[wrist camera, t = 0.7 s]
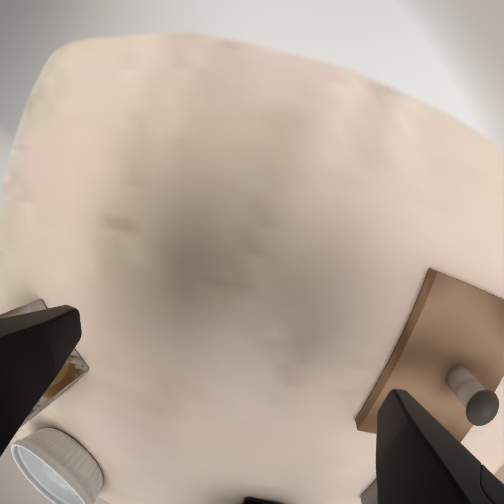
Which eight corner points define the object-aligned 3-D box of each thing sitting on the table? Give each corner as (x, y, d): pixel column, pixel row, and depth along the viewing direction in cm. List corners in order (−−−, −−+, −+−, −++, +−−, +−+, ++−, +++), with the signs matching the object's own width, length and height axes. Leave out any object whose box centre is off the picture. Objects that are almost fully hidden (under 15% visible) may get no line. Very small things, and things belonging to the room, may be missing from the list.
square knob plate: (454, 435, 21) (481, 485, 13) (355, 419, 22) (367, 484, 15) (523, 308, 19) (576, 337, 11) (429, 268, 20) (483, 294, 12)
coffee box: (23, 327, 27) (-81, 374, 11) (41, 297, 26) (-82, 343, 10) (68, 391, 27) (-26, 464, 11) (92, 369, 26) (-19, 454, 10)
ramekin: (109, 453, 28) (81, 487, 21) (113, 500, 30) (93, 528, 23) (32, 403, 29) (1, 426, 22) (45, 458, 31) (22, 479, 25)
